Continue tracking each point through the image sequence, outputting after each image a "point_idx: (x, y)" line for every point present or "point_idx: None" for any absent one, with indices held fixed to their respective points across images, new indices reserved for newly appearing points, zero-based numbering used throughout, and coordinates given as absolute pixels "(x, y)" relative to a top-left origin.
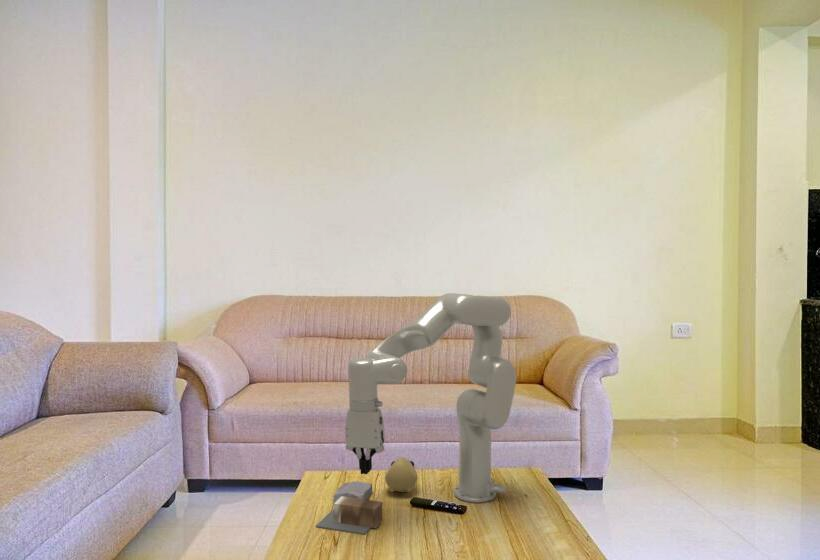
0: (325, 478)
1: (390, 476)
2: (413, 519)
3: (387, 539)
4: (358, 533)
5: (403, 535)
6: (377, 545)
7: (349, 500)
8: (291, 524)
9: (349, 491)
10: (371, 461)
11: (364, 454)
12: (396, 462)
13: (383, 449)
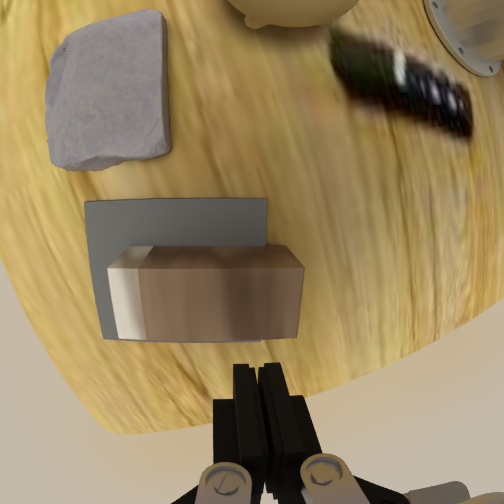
0: (3, 19)
1: (262, 4)
2: (375, 200)
3: (326, 338)
4: (239, 340)
5: (363, 305)
6: (308, 370)
7: (160, 299)
8: (45, 334)
9: (98, 141)
10: (315, 435)
11: (257, 493)
12: None
13: (456, 500)
